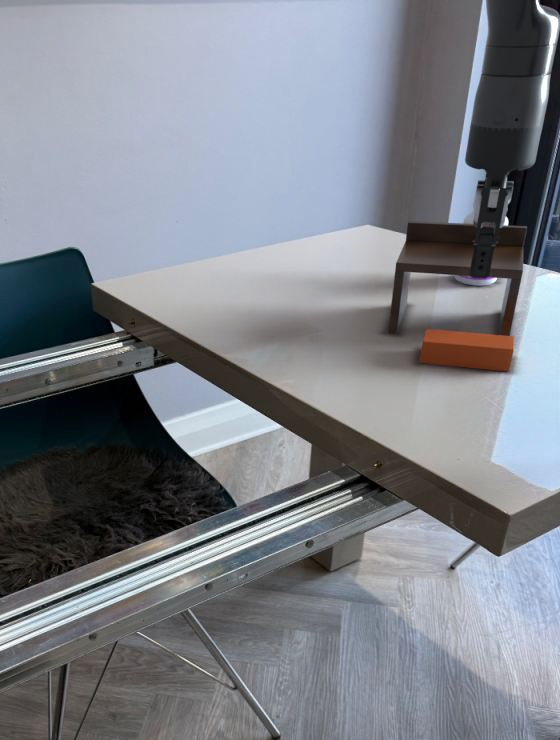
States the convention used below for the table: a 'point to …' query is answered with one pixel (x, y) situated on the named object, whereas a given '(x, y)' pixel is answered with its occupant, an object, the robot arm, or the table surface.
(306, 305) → the table surface
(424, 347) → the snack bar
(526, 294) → the table surface
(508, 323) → the shelf
